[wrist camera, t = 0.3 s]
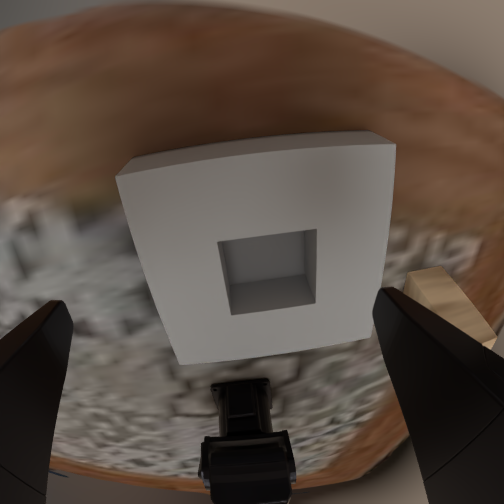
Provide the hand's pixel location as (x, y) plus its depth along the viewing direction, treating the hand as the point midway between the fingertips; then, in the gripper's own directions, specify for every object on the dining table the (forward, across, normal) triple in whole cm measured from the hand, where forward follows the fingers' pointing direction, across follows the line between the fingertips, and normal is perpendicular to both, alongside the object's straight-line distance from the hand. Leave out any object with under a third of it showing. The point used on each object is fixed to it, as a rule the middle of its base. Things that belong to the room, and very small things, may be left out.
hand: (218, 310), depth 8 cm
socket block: (+14, -3, +6) cm, 16 cm away
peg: (+14, -19, +12) cm, 26 cm away
